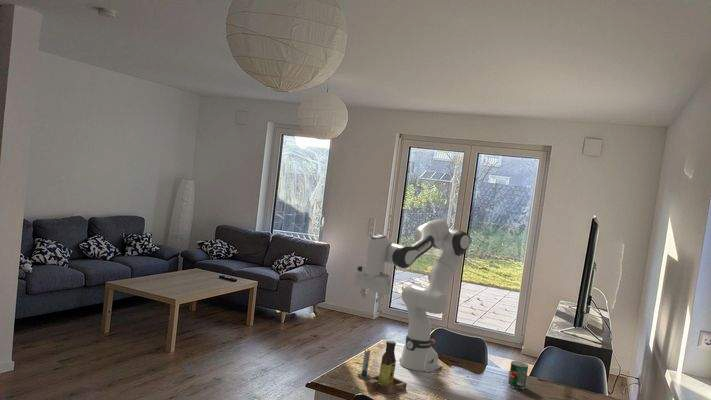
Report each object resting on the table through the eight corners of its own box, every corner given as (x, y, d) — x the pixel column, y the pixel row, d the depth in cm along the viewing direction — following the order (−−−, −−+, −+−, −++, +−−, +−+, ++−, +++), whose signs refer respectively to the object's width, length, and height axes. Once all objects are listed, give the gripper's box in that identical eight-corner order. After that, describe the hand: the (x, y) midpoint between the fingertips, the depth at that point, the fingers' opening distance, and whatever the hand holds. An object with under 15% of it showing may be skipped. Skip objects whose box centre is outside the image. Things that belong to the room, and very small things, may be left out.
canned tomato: (504, 384, 269) (507, 361, 269) (514, 382, 274) (517, 360, 274) (518, 390, 263) (521, 367, 263) (528, 388, 268) (531, 365, 267)
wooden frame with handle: (385, 380, 252) (386, 371, 252) (405, 390, 243) (407, 381, 243) (358, 385, 241) (360, 376, 241) (379, 396, 232) (380, 386, 232)
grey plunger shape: (364, 373, 257) (367, 347, 256) (373, 378, 252) (377, 351, 252) (354, 375, 253) (358, 349, 252) (363, 380, 248) (367, 353, 248)
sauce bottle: (391, 391, 239) (397, 345, 239) (376, 388, 241) (383, 342, 240) (393, 386, 246) (399, 341, 245) (378, 383, 247) (385, 338, 246)
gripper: (395, 274, 252) (391, 305, 253) (363, 265, 267) (359, 294, 267) (386, 275, 248) (382, 306, 248) (354, 266, 262) (350, 295, 263)
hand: (370, 300), depth 258 cm, fingers open, 8 cm apart
